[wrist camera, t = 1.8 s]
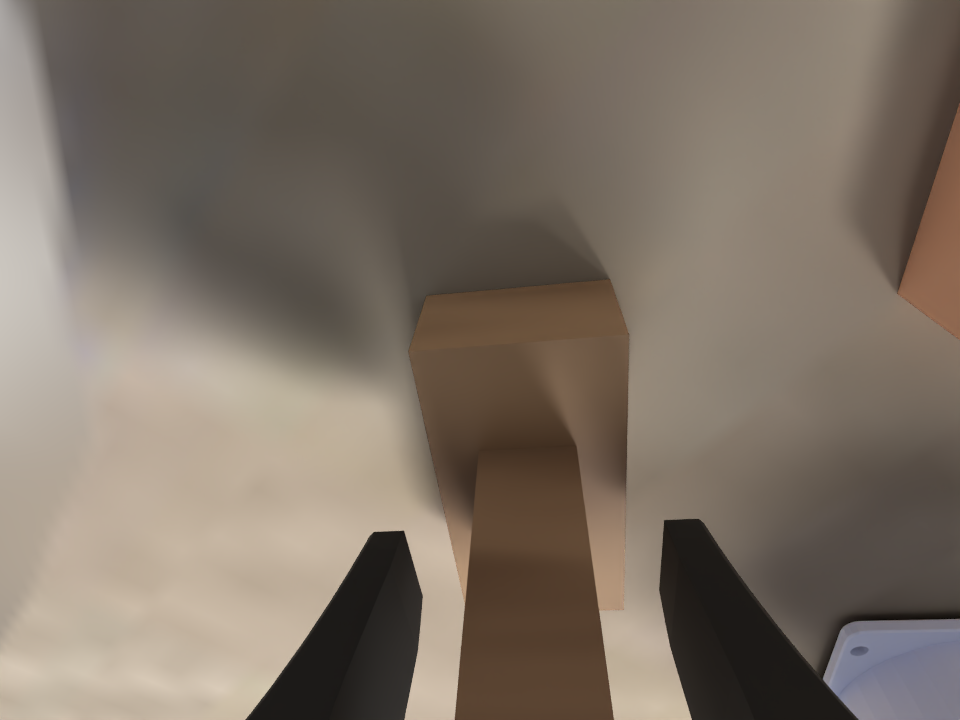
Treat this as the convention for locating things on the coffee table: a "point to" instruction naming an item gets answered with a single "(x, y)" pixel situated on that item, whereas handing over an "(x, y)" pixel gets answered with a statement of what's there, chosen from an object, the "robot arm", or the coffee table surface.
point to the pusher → (530, 487)
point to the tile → (939, 245)
